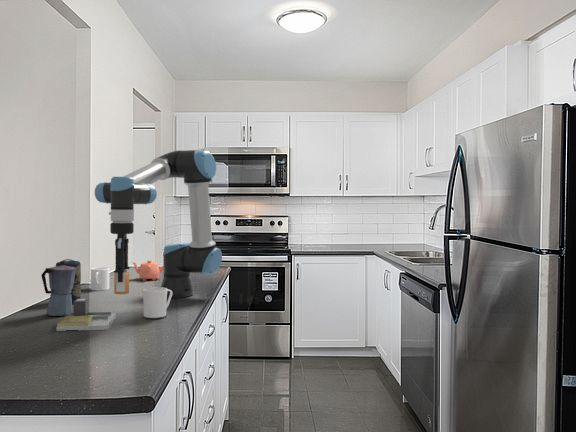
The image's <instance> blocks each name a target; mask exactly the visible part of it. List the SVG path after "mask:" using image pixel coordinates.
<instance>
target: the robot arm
mask: <svg viewBox="0 0 576 432" xmlns="http://www.w3.org/2000/svg"><path fill="white" fill-rule="evenodd" d="M216 171H217V163H216V160H215V157H214V156H213V155H212V153H211V152H210V151H208V150H202V149H193V150H192V149H191V150H173V151H170V152H168V153H165V154H163V155H162V154H161V155H159V156H158V157H155V158H154V159H152V161H151V162H150V163H149V164H147V165H144V166H142V167H141V168H139V169H136V170H134V171H132V172H130V173H128V174H125V175H122V176H112V177H111V179H110V182H106V181H104V182H99V183H98V184H97V185H96V186H95V188H94V197H95V199H96V201H98V203H102V204H107V205H108V204H110V211H109V212H108V215H109V216H110V222H111V223H110V224H109V225H110V226H109V227H110V229H109V231H110V233H111V234H113V235H117V236H116V238H115V240H114V245H115V270H113V273H116V292H125V272H124V271H126V272H128V270H130V266H129V239H130V238H128V237H127V236H128V235H130V234H133V233H134V231H135V230H134V226H135V225H134V222H133V221H135V218H134V217H135V209H134V205H150V204H152V203H154V202H155V200H156V198H157V196H158V195H157V194H158V193H157V189H156V187H155V186H154V185H153V184H154V183H156V182H158V181H164V180H165V181H166V180H167V179H172V178H177V179H178V178H183V184H185V185H186V186H187V190H188V205H189V215H190V216H189V217H190V218H189V219H190V228H191V229H190V230H191V241H190V242H185V243H184V242H183V243H174V244H167V245H165V246H164V248H163V253H162V256H163V271H162V273H163V274H162V275H163V276H162V278H163V279H162V282H161V284H160V287H163V288H167V289H169V290H171V291H172V297H171V299H172V298H174V299H178V298H179V299H180V298H187V296H188V297H192V296H194V294H195V293H194V287H193V283H192V280H191V276H190V274H200V275H214V274H216V272H217V271H219V268H220V267H221V264H222V259H223V253H222V251H221V248H219V247H217V244H216V241H214V239H213V235H212V234H213V233H212V222H211V221H212V219H211V206H210V192H209V191H210V190H209V188H210V187H209V185H210V184H211V182H212V179H213V178H214V177H215V176H216ZM191 295H192V296H191ZM169 296H170V291H167V298H168V299H169Z"/></svg>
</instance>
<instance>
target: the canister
mask: <svg viewBox="0 0 576 432" xmlns="http://www.w3.org/2000/svg"><path fill="white" fill-rule="evenodd" d="M62 261H65V263H64V265H65V266H70V267H75V268H76V272H75V278H74V284H73V288H72V290H71V298H72V304H73V302H74V301H75V300H76V299H82V298H81V297H82V296H81V295H82V293H81V291H82V287H81V286H82V285H81V281H82V272H81V271H82V270H81V269H82V267H81V265H82V264H81V262H80V261H79V260H74V259H71V258H69V259H67V258H66V259H63V260H62ZM60 265H61V262H60V261H58V262H56V263H55V266H60Z"/></svg>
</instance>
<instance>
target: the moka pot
mask: <svg viewBox="0 0 576 432" xmlns="http://www.w3.org/2000/svg"><path fill="white" fill-rule="evenodd" d="M59 262H61V265H60V266H56V265H55V266H52V267H51V266H50V267H45V269H44V271H43V272H42V273H41V281H42V284H43V288H44V289H43V290H44V292H45V294H47V295H48V294H50V296H49V300H48V306H47V310H46V315H48V316H51V317H64V316H68V315H69V314H70V313H73V303H72V298H71V290H72V288H73V284H74V278H75V272H76V268H75V267H70V266H65V265H64V263H65V261H63V260H61V261H59ZM46 274H48V284H49V289H50V290H49V289H48V285H47V279H46Z"/></svg>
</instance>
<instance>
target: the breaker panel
mask: <svg viewBox="0 0 576 432" xmlns="http://www.w3.org/2000/svg"><path fill="white" fill-rule="evenodd" d="M116 318H117V313H116V312H114V313H113V312H111V311H97V312H96V311H95V312H94V311H92V312H90V311H88V315H77V316H73V313H70V314H69V315H66V316H62V317H61V319H60V320H59V321H57V325H56V332H67V331H66V330H78V331H107V330H109V328H110V327H111V326H112V324H113V322H114V320H115V319H116Z"/></svg>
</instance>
